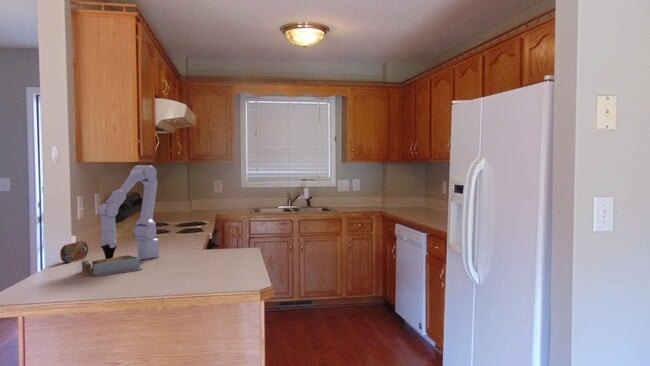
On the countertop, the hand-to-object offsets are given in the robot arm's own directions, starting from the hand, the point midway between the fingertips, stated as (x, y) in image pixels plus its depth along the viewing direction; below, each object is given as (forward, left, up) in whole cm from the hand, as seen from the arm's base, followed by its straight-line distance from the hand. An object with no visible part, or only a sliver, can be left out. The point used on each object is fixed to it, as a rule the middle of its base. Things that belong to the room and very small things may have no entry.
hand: (109, 261), depth 200 cm
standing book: (+11, +9, -2) cm, 14 cm away
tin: (+10, -21, -2) cm, 24 cm away
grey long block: (0, +16, -2) cm, 16 cm away
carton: (-1, +5, -2) cm, 6 cm away
